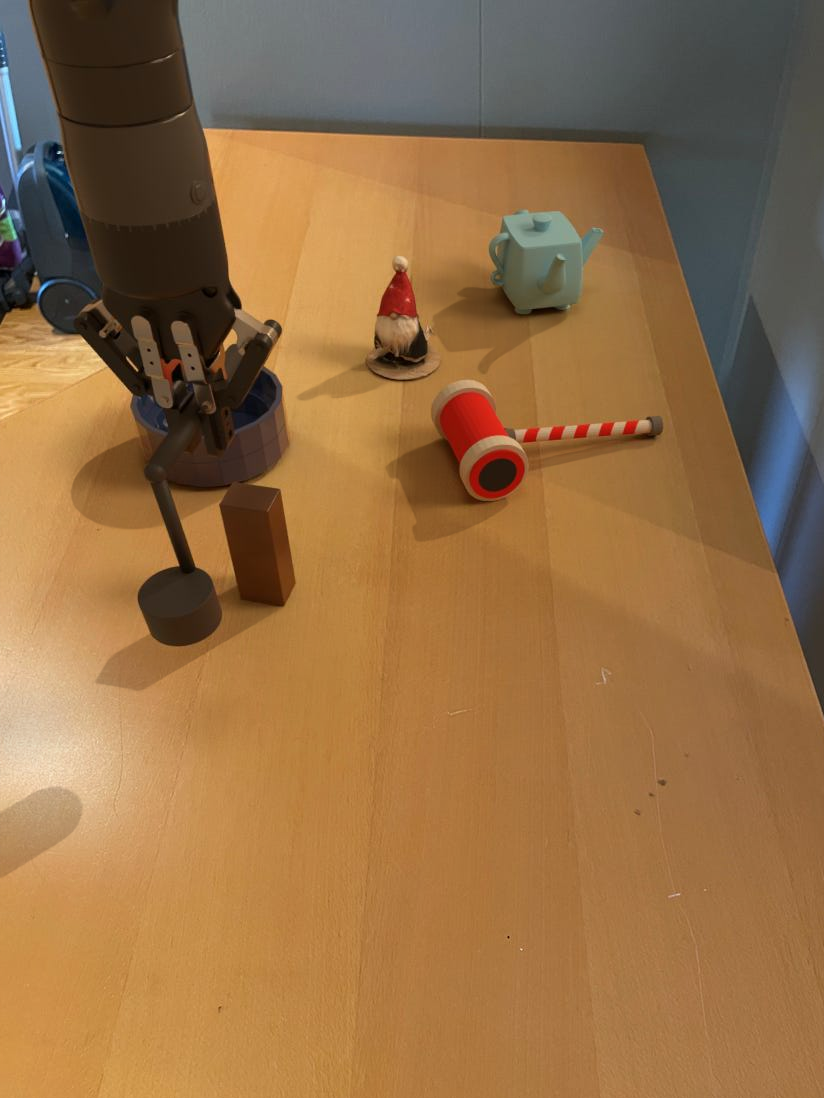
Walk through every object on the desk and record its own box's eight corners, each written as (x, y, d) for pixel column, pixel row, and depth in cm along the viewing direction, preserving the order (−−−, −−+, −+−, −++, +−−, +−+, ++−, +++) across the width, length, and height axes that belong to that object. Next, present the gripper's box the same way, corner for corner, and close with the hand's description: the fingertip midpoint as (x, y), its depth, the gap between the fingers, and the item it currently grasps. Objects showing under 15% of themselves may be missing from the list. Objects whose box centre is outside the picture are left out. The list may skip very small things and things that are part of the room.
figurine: (394, 369, 100) (355, 262, 101) (374, 404, 110) (339, 305, 110) (465, 352, 103) (427, 247, 103) (440, 387, 113) (405, 290, 113)
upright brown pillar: (239, 599, 82) (218, 504, 75) (252, 575, 84) (232, 481, 77) (284, 606, 82) (267, 512, 74) (296, 582, 84) (280, 488, 76)
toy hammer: (634, 402, 104) (642, 349, 99) (682, 466, 97) (694, 411, 92) (430, 438, 99) (429, 383, 94) (464, 508, 91) (465, 452, 87)
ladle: (205, 651, 65) (157, 516, 56) (136, 641, 65) (78, 507, 57) (298, 474, 77) (270, 342, 69) (239, 468, 78) (205, 337, 69)
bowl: (120, 480, 93) (104, 427, 89) (180, 399, 103) (168, 348, 98) (260, 501, 91) (251, 448, 87) (308, 417, 101) (302, 366, 97)
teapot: (470, 270, 124) (471, 189, 117) (574, 259, 126) (581, 180, 119) (507, 341, 112) (511, 257, 105) (621, 328, 115) (633, 245, 107)
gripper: (285, 176, 56) (317, 430, 68) (65, 154, 57) (136, 405, 70) (238, 233, 51) (282, 495, 63) (-2, 206, 52) (87, 467, 65)
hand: (205, 447), depth 67 cm, fingers closed on ladle, 1 cm apart
